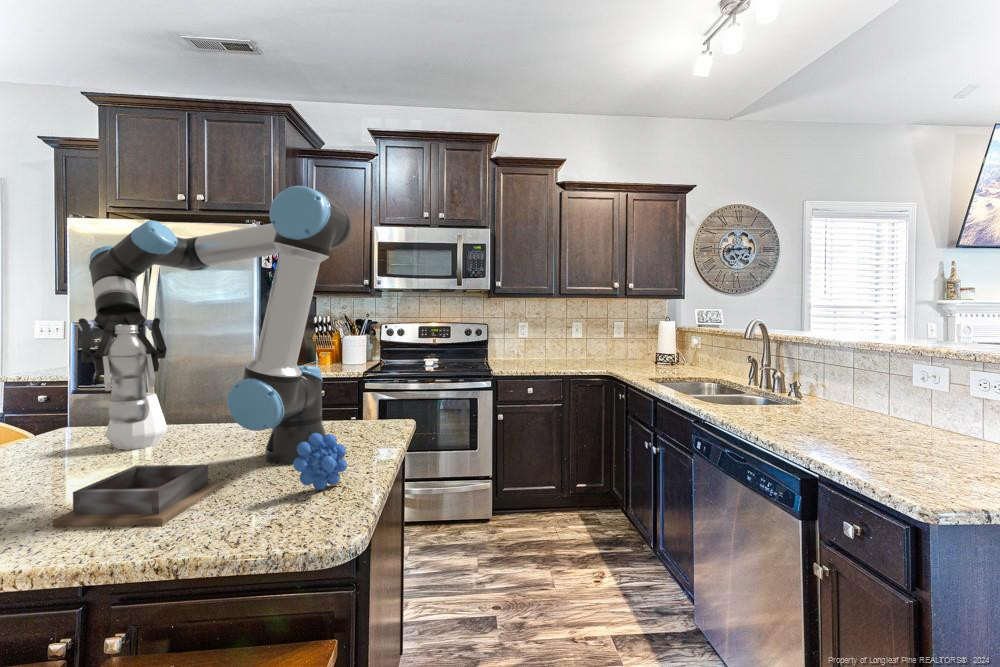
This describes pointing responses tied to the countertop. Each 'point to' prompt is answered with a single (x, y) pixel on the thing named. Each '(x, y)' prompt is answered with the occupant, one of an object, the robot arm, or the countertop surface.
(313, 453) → the blue bumpy flower
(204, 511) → the countertop surface
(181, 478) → the bottle dock
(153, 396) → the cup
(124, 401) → the plastic bottle
